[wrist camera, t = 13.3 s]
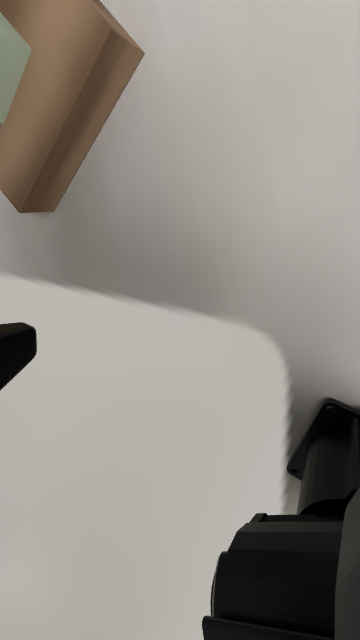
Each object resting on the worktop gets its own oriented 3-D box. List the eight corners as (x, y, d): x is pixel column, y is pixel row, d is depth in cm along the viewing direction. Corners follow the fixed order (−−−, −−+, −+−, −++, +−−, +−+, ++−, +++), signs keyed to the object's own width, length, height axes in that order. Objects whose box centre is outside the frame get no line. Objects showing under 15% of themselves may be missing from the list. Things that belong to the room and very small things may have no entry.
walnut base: (144, 53, 18) (111, 29, 15) (53, 211, 24) (19, 212, 22) (12, -102, 18) (-42, -150, 16) (-43, 93, 25) (-88, 82, 22)
